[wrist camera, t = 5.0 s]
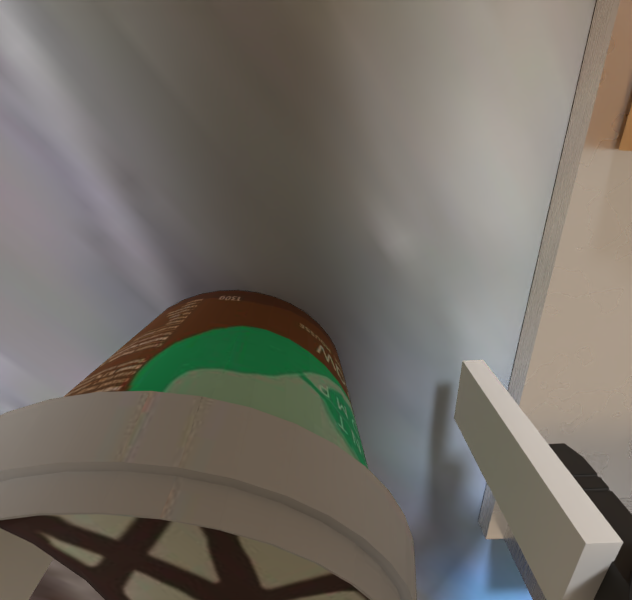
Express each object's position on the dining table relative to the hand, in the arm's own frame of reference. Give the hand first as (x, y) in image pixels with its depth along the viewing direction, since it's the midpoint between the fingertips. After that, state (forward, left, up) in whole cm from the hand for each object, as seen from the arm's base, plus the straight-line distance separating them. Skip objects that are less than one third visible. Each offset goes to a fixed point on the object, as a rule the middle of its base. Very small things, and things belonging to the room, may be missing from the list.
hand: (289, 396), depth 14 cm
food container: (0, 0, -3) cm, 3 cm away
